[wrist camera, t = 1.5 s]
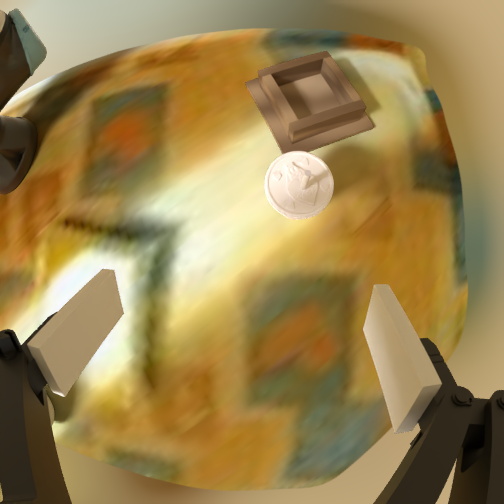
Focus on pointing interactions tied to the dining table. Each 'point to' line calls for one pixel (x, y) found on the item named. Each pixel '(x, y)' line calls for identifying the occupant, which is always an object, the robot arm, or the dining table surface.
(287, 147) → the box
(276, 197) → the smoothie
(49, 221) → the dining table surface
